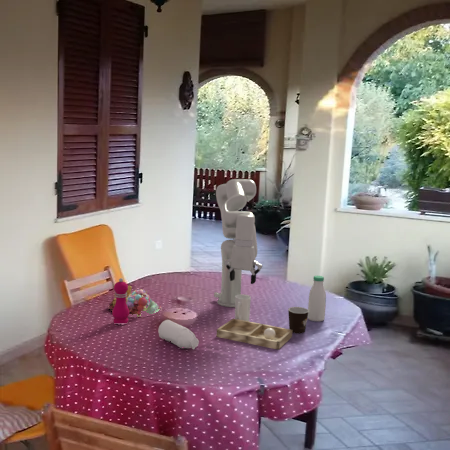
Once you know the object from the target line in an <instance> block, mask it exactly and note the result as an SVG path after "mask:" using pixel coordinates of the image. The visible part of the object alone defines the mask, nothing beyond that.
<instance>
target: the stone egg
mask: <svg viewBox="0 0 450 450" xmlns="http://www.w3.org/2000/svg"><path fill="white" fill-rule="evenodd" d="M275 335H276V334H275V331H274V330H273V329H272V328H267V329H266V330H265V331H264V337H265V338H266V339H270V340H272V339H274V338H275Z"/></svg>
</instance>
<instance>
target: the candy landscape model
mask: <svg viewBox="0 0 450 450" xmlns="http://www.w3.org/2000/svg"><path fill="white" fill-rule="evenodd" d="M132 288H133V287H132V286H131V285H128V290H127V292H126V293H127V296H126V304H127V306H128V309H129V314H132V315H133V314H137V317H139V316H141V311H146V310H147V311H146V312H147V313H149V314H153V313H156V312H158V311H159V310H160V308H161V309H162V306H161V304H159V305H158V304H157V302H155V301H154V300H152V298H151V297H150V294H149V293H148V290H143V288H138V289H136V290H134V291H132ZM113 296H114V298H113V299H112V301H111V302H110V303H109V305H108V306H107V308H108V309H110V310H109V311H112V312H113V310H112V309H113V308H114V306H115V304H116V296H115V293H114V294H113ZM146 306H148V307H147V308H146ZM158 308H159V309H158ZM154 311H155V312H154Z"/></svg>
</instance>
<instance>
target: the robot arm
mask: <svg viewBox="0 0 450 450" xmlns="http://www.w3.org/2000/svg"><path fill="white" fill-rule="evenodd" d="M256 194H257V186H256V182H255V181H254V180H252V179H249V178H248V179H244V178H234V179H233V178H232V179H230V180H228V181H227V182H226V183H223V184H222V183H221V184H220V185H218V186H217V187H216V189H215V196H216V203H217V205H218V208H219V210H220V217H221V224H222V225H221V226H222V235H223V236H224V238H226V240H223V241H222V243H221V244H220V252H221V253H220V254H221V283H220V285H221V287H220V288H221V290H220V292H213V297H214V298H218V300H217V304H218V305H219V306H222V307H226V308H235V296H236V295H241V293H242V271H246V272H249V271H250V273H251V275H250V285H254V284H256V282H257V274H258V273H260V271H261V270H262V269H263V265H262V264H261V263H260V262H258V261H257V260H256V259H257V257H258V241H257V239H258V238H257V231H256V224H255V223H256V218H255V214H253V212H251V211H248V210H247V211H244V210H243V211H241V210H242V209H243V208H244V207H246V205H247V202H249V201H251V200H252V199H254V197H255V196H256ZM256 267H257V268H256Z"/></svg>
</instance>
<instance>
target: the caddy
mask: <svg viewBox="0 0 450 450" xmlns="http://www.w3.org/2000/svg"><path fill="white" fill-rule="evenodd" d="M267 328H272V329H273V330H274V331H275V334H276V335H275V338H274V339H272V340H270V339H266V338H265V337H264V331H265V330H266V329H267ZM292 331H293V330H291V329H289V328H285V327H279V326H274V325H269V324H264V323H258V322H252V321H250V320H249V321H244V320H239V319H235V317H234V318H231V319H229V320H228V321H227V322H225V323H224V324H223V325H221V326H220V327H218V328H217V329H216V337H217V338H219V339H220V338H222V339H226V340H230V341H234V342H239V343H240V342H241V343H245V344H249V345H255V346H259V347H264V348H269V349H273V350H277V351H278V350H279V351H280V349H281V348H283V346H284V345H286V344H287V343H288V341H290V339H291V338H293V333H292Z"/></svg>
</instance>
